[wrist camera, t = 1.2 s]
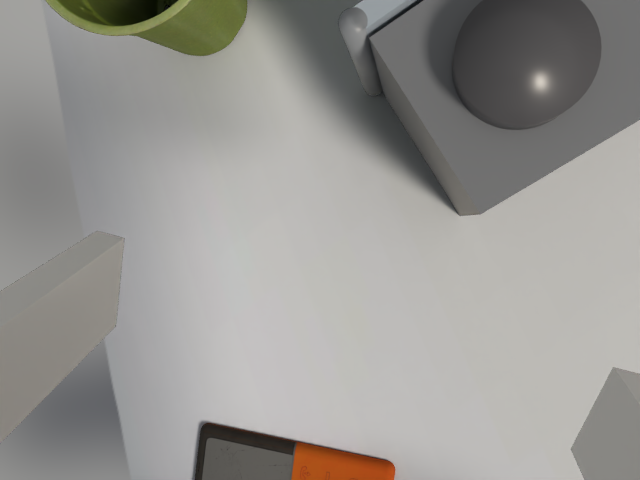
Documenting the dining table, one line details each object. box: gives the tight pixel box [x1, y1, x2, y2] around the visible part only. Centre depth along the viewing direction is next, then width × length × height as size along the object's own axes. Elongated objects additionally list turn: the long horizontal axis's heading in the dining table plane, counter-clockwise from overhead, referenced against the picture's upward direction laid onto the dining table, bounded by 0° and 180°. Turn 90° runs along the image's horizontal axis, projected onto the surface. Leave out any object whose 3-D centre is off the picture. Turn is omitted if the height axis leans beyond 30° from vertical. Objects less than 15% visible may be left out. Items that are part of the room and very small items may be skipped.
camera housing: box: [369, 0, 640, 216], centre depth 29 cm, size 10×14×14 cm
